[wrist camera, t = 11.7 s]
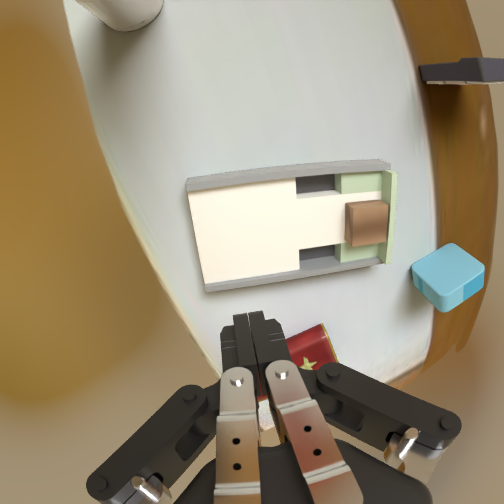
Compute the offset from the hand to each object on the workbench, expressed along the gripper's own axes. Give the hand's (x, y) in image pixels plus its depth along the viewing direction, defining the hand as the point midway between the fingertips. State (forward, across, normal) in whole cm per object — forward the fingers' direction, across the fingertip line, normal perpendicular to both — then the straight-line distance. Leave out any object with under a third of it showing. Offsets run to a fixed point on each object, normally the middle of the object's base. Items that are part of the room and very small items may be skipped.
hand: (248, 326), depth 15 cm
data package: (+32, -40, +20) cm, 55 cm away
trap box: (+32, -10, +7) cm, 34 cm away
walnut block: (+29, -21, +7) cm, 36 cm away
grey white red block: (+32, -40, -18) cm, 54 cm away
